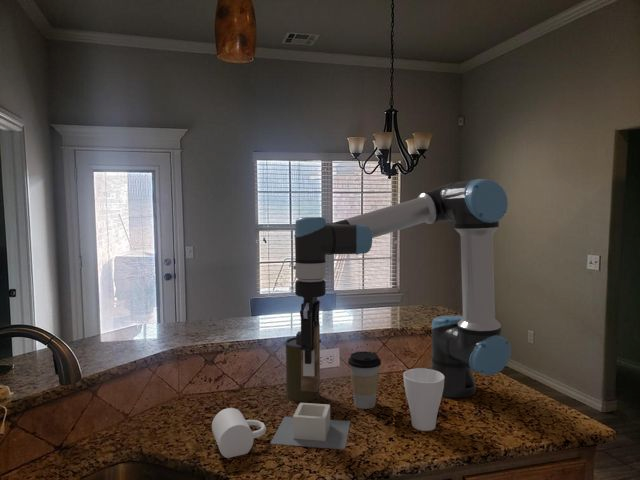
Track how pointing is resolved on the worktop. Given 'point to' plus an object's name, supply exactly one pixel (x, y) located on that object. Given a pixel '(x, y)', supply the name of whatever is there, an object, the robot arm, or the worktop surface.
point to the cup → (423, 396)
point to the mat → (333, 440)
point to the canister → (296, 372)
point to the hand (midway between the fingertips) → (310, 372)
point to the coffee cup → (364, 378)
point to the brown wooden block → (314, 382)
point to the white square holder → (311, 421)
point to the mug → (235, 432)
